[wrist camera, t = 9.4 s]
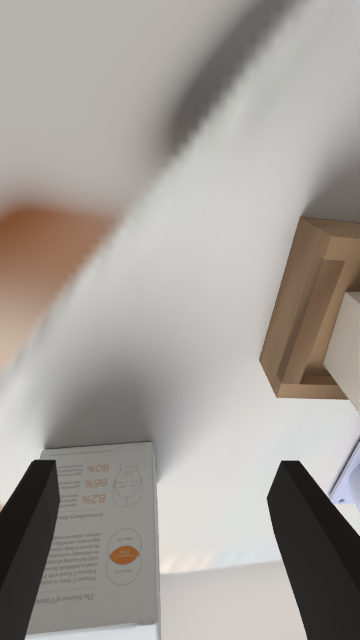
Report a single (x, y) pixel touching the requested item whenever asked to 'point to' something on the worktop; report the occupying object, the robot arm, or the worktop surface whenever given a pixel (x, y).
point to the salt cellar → (346, 348)
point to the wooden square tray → (311, 308)
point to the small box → (102, 548)
